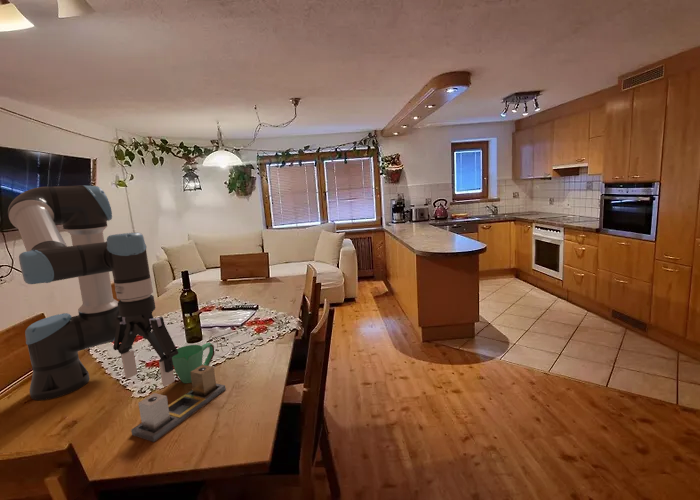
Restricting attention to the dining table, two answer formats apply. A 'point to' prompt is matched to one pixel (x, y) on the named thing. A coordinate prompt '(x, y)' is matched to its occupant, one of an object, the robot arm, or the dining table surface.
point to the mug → (191, 360)
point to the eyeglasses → (230, 342)
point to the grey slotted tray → (179, 413)
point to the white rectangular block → (154, 412)
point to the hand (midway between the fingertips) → (149, 379)
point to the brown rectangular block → (203, 380)
